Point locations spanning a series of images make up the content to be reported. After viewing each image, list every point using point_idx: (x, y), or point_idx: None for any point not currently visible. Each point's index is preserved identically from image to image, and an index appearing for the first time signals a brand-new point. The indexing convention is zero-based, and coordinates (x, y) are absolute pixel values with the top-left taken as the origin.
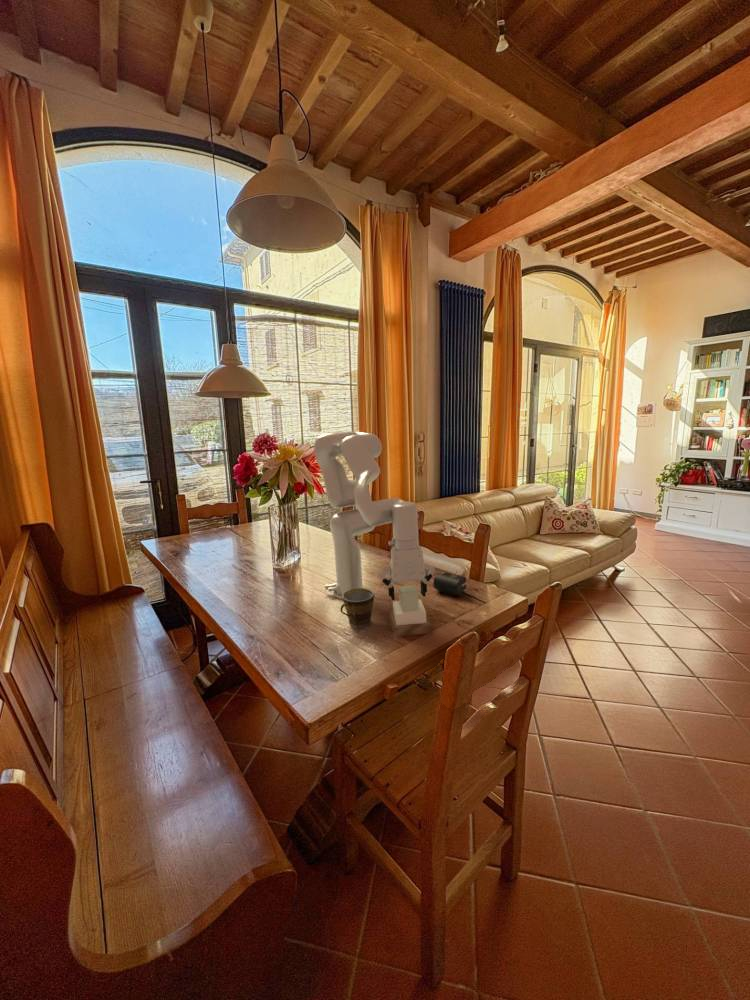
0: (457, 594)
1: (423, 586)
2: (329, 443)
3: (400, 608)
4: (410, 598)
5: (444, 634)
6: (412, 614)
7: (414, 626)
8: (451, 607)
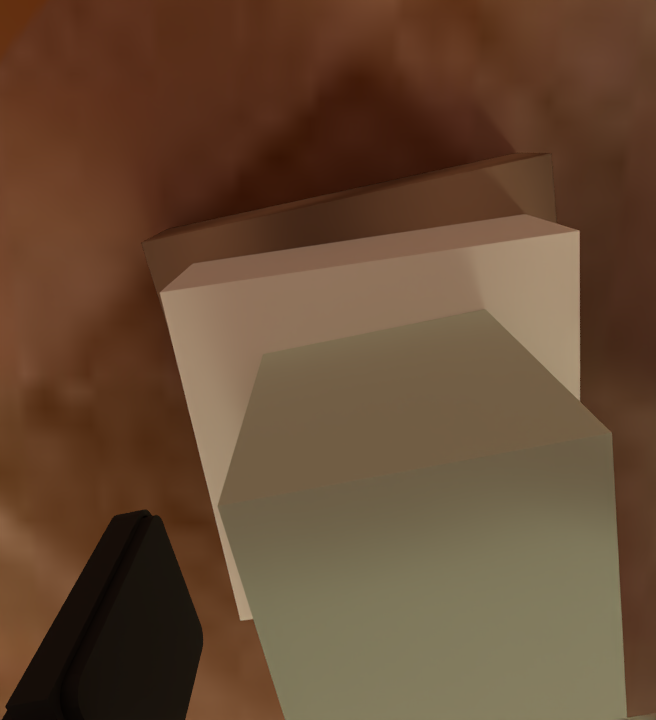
0: None
1: (73, 664)
2: None
3: None
4: (385, 408)
5: (38, 190)
6: (347, 259)
7: (325, 202)
8: (11, 636)
